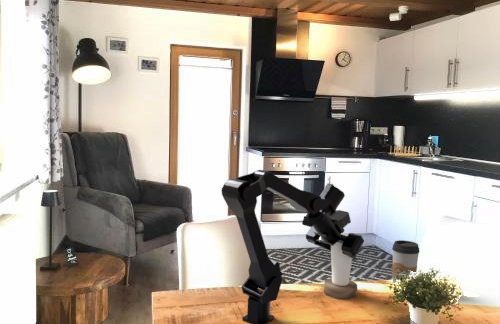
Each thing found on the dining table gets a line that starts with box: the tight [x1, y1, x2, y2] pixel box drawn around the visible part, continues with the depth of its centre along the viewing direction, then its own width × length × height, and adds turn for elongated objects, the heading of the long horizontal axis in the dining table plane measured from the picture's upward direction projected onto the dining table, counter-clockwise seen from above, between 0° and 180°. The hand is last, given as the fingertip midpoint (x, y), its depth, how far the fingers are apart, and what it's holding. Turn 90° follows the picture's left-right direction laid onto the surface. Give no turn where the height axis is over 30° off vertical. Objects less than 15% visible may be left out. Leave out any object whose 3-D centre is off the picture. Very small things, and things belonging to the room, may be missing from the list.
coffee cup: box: [391, 239, 420, 284], centre depth 146 cm, size 8×8×15 cm
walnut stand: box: [323, 277, 358, 301], centre depth 141 cm, size 10×10×3 cm
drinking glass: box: [330, 233, 353, 286], centre depth 140 cm, size 7×7×15 cm
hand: (345, 254), depth 141 cm, fingers open, 7 cm apart
